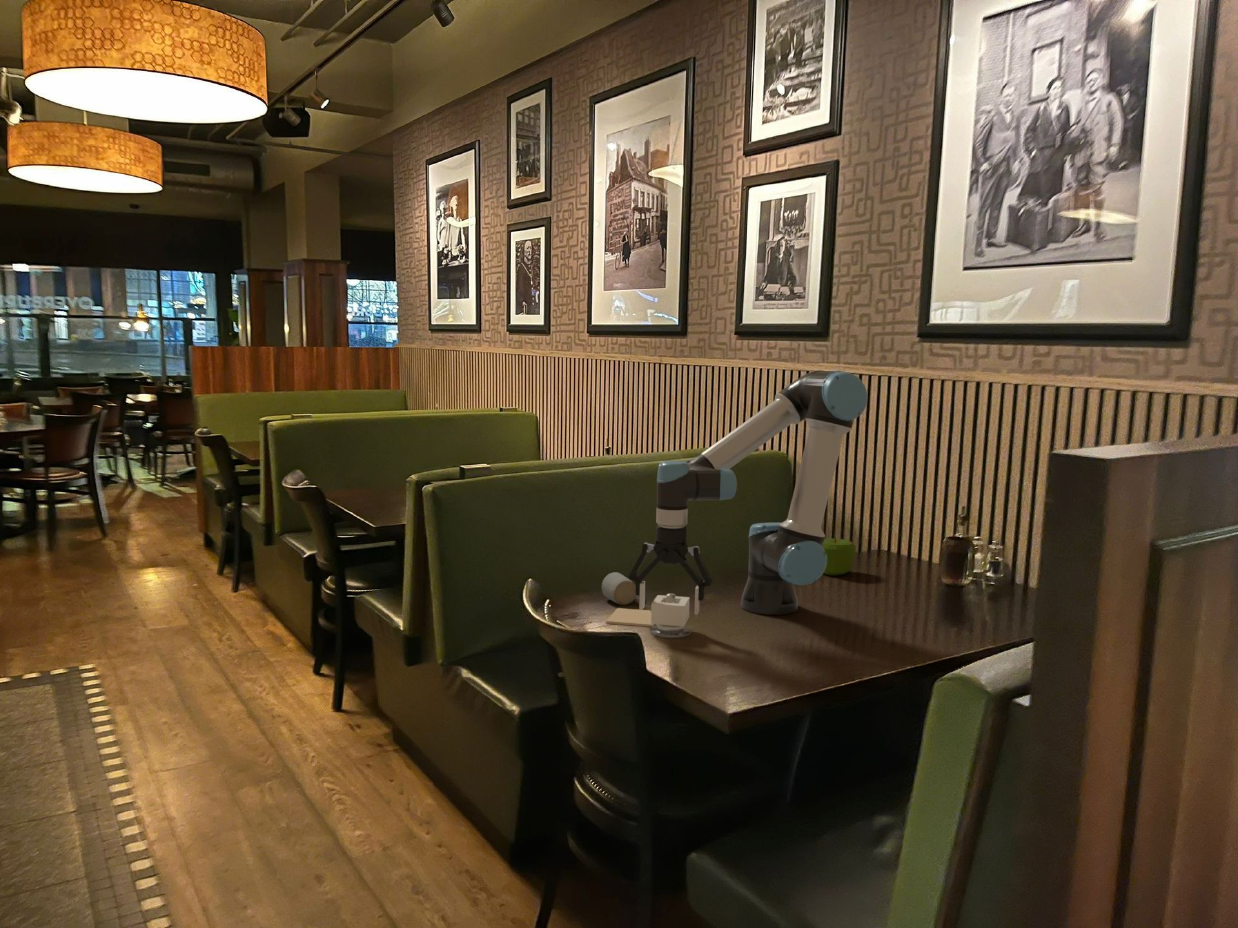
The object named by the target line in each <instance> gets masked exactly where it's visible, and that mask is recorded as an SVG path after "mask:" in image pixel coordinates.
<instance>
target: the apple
mask: <svg viewBox="0 0 1238 928" xmlns="http://www.w3.org/2000/svg"><path fill="white" fill-rule="evenodd" d="M822 547H823V548H824V550H825V553H826V555H827V565H826V569H825V571H824V573H823V574H824V575H826V576H833V577H835V576H837V577H838V576H843V575H845V574H847V573H849V572H850V571H852V569H853V564H854V560H855V556H856V551H857V545H855V544H854V542H852V541H850V540H847V539H842V538H836V537H833V538H824V542H823V546H822Z"/></svg>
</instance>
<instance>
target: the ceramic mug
mask: <svg viewBox="0 0 1238 928" xmlns="http://www.w3.org/2000/svg"><path fill="white" fill-rule="evenodd" d="M601 591H602V595H603V596H604V597H605V598H607V599H608V600H610V601H612V602H613V603H615V604H617V605H620V606H627V605H630V604H631V603H632V602H634V600H636V601H638V602H640V596H639V595H636V583H634V581H633V580H630V579H629V578H628V577H627V576H625V575H624V574H622V573H620V572H617V571H616V572H615V571H614V572H613V571H612V572H611V573H608V574H607V575H606V576H605V577H604V579H603V580H602V583H601Z"/></svg>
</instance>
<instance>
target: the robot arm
mask: <svg viewBox="0 0 1238 928" xmlns="http://www.w3.org/2000/svg"><path fill="white" fill-rule="evenodd" d="M867 404H868V391H867V388H866V386H865V384H864V382H863V381H862V380H861V378H859V377H858V376H857V375H855V374H853V373H850V372H847V371H841V370H834V371H833V370H814V371H810V372H808V373H805V374H804V375H802V376H800V377H799V378H797V379H796V380H794V381H793V382H791V383H789V385H787V386H786V387H784V388H783V389H781V391H779V392H778V393H776V394H775V395H774V400H773V401H772V402H770V403H769V404H768V405H766V406H765V407H763V408H762V409H760V410H759V411H758V412H756V414H754V415H753V416H751V417H750V418H748V419H747V420H745V422H743V423H741V424H740V425H738V426H737V427H736V428H734V429H733V430H732V431H730V432H729V433H728V434H726V435H725V436H724V437H722V438H721V439H720V440H718V441H717V442H715V443H714V444H713V445H711V446H710V447H708V449H705V450H704V451H703V452H702V453H700V454H699V455H697V456H696V457H695V458H693V459H691V460H684V461H682V460H665V461H661V462H660V463H659V464H658V467H657V474H656V476H657V477H656V510H655V511H656V512H655V514H656V517H655V520H656V521H655V522H656V524H657V526H656V527H655V544H652V543H649V542H648V541H646V542H644V543H643V544H642V548H641V553H640V555H639V557H638V558H637V560H636V562H635V564H634V565H633V567H632V570H631V571H630V573H629V575H628V577H627V578H628V579H629V580H631V581H632V582H635V586H636V595H639V596H640V601H638V602H639V606H638V607H639V608H638V610H644V608H645V606H646V605H645V603H646V601H645V599H646V581H645V580H643V579H645V578H646V576H648V574H649V573H650V572H651V571H652V570H653V569H654V568H655V567H656V566H657V565H658V564H659V563H660V562H661V563H663V564H671V565H677V564H680V566H681V567H683V568H684V570H685V571H686V573H688V575H689V576H690V578H691V579H692V580H693V581H694V583H695V585H696V586H695V589H694V615H695V616H697V615H698V614H699V613H700V601H702V602H703V601H704V599H705V588H706V587H710V586H712V584H713V579H712V577H711V576H710V574H709V570H708V569H707V566H706V564H705V562H704V559H703V558H702V556H701V548H700V546H699V545H695V546H690V547H689V546H688V542H687V541H688V527H687V526H686V525H687V524H688V513H689V510H688V509H689V501H724V500H732V499H733V498H734V497H735V495H736V492H737V487H738V482H737V477H736V474H735V472H734V471H733V470H732V467H734V466H735V465H736V464H739V463H740V462H741V461H742V460H743V459H745V458H746V457H748V456H749V455H750V454H752V453H754V451H756V450H758V449H759V448H760V447H762V446H763V445H764V444H766V443H767V442H768V441H770V440H771V439H772V438H774V437H775V436H776V435H778V434H779V433H781V432H782V431H784V430H785V429H787V428H788V427H789V426H790V425H792V424H793V425H799V424H800V423H801V422H802V421H804V420H805V422H806V423H807V425H808V427H809V428H808V433H807V436H806V440H805V444H804V448H803V454H802V456H801V462H800V465H799V468H798V469H799V470H798V473H797V478H796V482H795V487H794V490H793V494H792V497H791V501H790V507H789V510H788V513H787V514H788V515H787V518H786V519H785V520H784V521H783V522H760V523H759V522H758V523H753V524H751V526H750V528H749V532H748V570H747V572H748V576H747V580H746V583H745V586H744V589H743V592H742V594H741V601H740V607H741V608H742V609H743V610H745V611H748V612H751V613H754V614H758V615H759V614H761V615H768V616H769V615H770V616H772V615H775V616H776V615H777V616H778V615H780V616H781V615H788V614H792V613H795V612H796V611H798V610H799V599H798V596H797V592H796V589H795V586H796V585H797V586H807V585H810V584H813V583H814V582H816V581H817V580H819V579H820V578H821V577H822V576H823V574H824V571H825V569H826V565H827V555H826V553H825V550H824V548H823V547H822V546H823V542H824V539H826V535H825V533H824V531H823V530H822V524H823V520H824V516H825V513H826V512H825V511H826V508H827V504H828V499H829V495H830V492H831V488H832V484H833V479H834V475H835V471H836V468H837V464H838V459H839V455H840V451H841V447H842V443H843V440H844V439H843V438H844V436H845V435H846V434H847V433H849V432H850V431H852V429H853V426H854V425H853V424H854V422H855V421H854V420H856V419H857V418H859V416H861V415H862V414H863V413H864V411H865V410H866V407H867ZM652 550H653V552H654V553H655V555H656V557H655V558H654V559H653V560H652V561H651V562H650V563H649V565H648V566H646V567H645V569H643V571H642V572H641V573H640V574H639V575H637V573H638V572H639V570H640V568H641V566H642V564H643V563H644V561H645V559H646V557H647V555H648V553H651V551H652ZM688 553H690V555H691V556H692V557H693V558H694V561H695V564H696V565H697V568H698V570H699V572H700V574H699V573H698V571H696V570H695V568H694V567H693V566H692V564H691V563H690V562H689V559H688V558H687V557H686V555H687V554H688ZM794 585H795V586H794Z"/></svg>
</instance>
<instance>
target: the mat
mask: <svg viewBox="0 0 1238 928" xmlns="http://www.w3.org/2000/svg"><path fill="white" fill-rule="evenodd" d="M605 622H606V623H605V624H610V625H622V626H624V625H625V626H632V627H633V626H635V627H648V628H651V627H653V626H655V624H651V610H649V609H643V610H639V608H638V609H637V608H635V609H634V608H624V607H623V608H621V607H617V608H616V609H615V610H614V611H613V612H612V614H611V615H610V616H609V617H608V618H607V620H606V621H605Z"/></svg>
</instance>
